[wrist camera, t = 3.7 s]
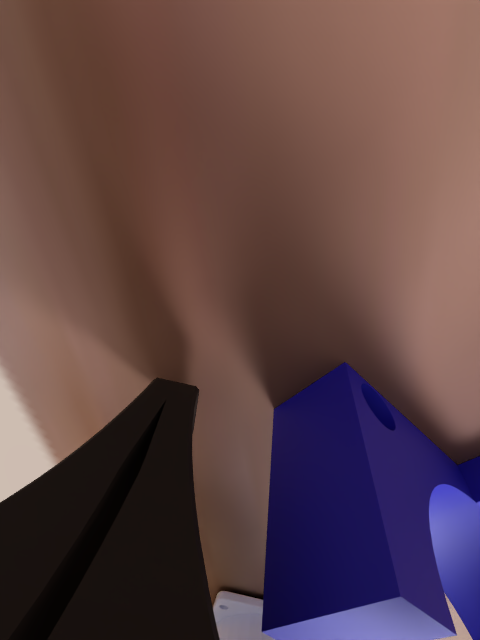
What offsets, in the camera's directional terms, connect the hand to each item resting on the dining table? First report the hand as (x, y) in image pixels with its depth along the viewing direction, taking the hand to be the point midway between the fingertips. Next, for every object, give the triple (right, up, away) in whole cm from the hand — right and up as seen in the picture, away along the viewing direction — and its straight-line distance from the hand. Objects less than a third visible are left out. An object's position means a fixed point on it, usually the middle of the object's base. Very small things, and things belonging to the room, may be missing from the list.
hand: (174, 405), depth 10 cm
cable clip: (+9, -3, +2) cm, 10 cm away
